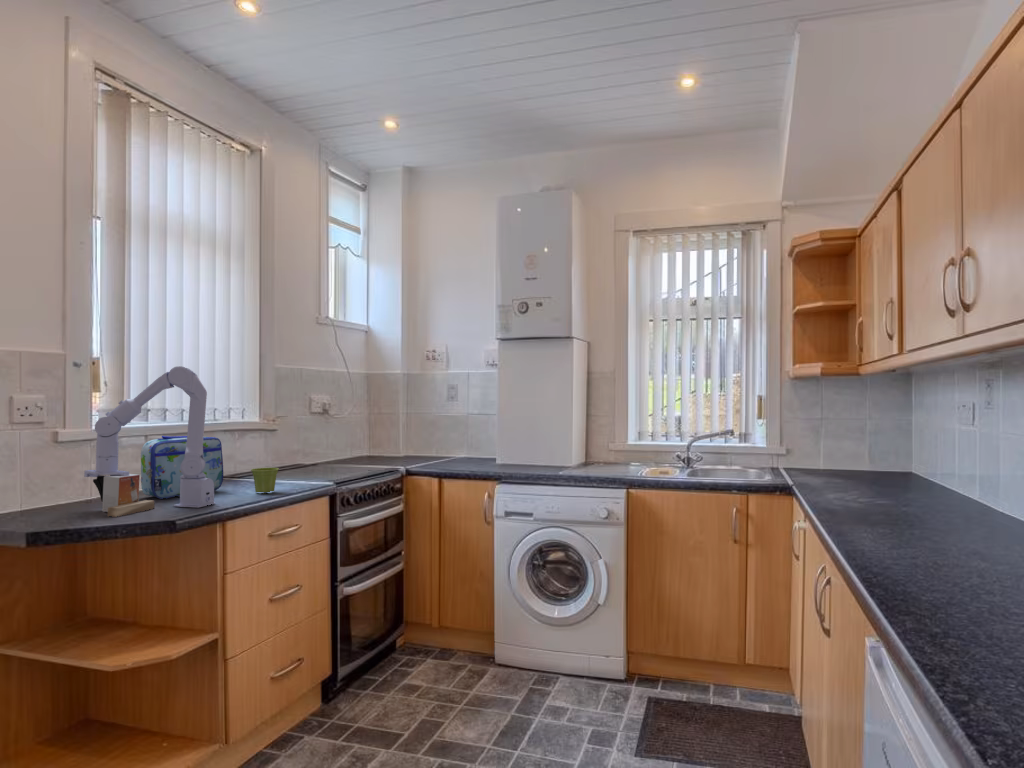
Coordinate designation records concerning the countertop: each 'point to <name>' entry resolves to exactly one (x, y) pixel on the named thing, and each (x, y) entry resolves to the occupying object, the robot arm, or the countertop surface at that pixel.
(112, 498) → the small box
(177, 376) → the robot arm
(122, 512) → the batten
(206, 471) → the lunch box
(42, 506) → the countertop surface
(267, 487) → the plant pot
